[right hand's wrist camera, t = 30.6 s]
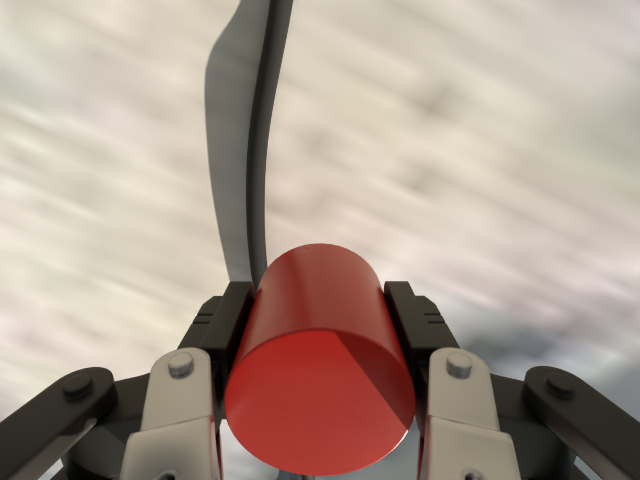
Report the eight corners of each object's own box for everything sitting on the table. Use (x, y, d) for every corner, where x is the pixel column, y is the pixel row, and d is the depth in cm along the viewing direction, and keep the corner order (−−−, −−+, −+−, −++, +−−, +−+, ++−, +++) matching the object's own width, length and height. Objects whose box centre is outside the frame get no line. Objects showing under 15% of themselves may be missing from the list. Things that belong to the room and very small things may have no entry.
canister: (390, 340, 13) (427, 461, 9) (276, 360, 14) (254, 488, 9) (370, 230, 12) (402, 310, 7) (241, 257, 12) (195, 349, 8)
